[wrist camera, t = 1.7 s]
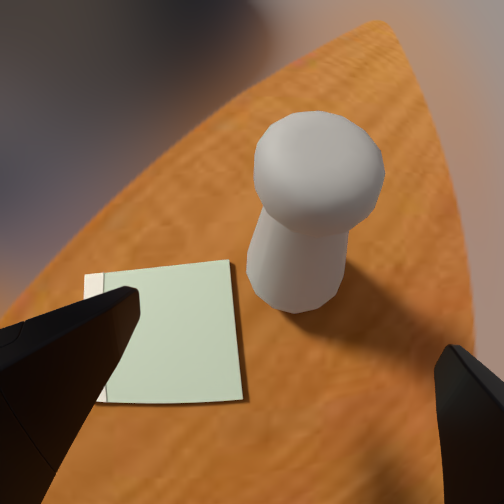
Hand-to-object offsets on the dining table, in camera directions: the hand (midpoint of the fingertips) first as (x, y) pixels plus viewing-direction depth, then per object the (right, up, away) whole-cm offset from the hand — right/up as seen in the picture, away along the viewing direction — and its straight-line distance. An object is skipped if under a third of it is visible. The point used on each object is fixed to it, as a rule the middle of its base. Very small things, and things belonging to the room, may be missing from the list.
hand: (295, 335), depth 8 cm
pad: (-7, -3, +12) cm, 14 cm away
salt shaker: (+1, +1, +13) cm, 13 cm away
